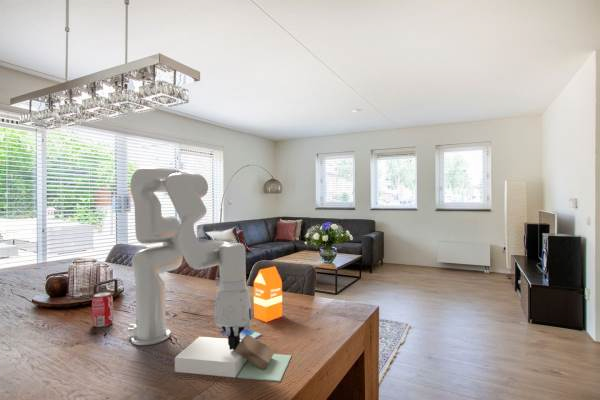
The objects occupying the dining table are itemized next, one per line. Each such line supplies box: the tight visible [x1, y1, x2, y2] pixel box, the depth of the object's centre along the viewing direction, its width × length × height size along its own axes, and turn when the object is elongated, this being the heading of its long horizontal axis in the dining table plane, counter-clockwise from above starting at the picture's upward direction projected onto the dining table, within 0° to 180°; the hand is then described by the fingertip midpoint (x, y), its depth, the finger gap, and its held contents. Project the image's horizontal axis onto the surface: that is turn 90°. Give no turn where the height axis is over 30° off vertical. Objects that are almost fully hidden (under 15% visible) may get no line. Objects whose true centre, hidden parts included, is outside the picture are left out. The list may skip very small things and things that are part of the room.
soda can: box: [91, 291, 114, 328], centre depth 126 cm, size 7×7×12 cm
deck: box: [174, 336, 248, 378], centre depth 96 cm, size 18×14×4 cm
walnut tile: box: [235, 334, 276, 370], centre depth 94 cm, size 10×7×2 cm
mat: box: [236, 353, 292, 382], centre depth 93 cm, size 12×14×1 cm
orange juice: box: [253, 266, 283, 323], centre depth 132 cm, size 8×9×20 cm
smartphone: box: [218, 327, 263, 340], centre depth 116 cm, size 7×1×15 cm
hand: (234, 347), depth 95 cm, fingers closed
